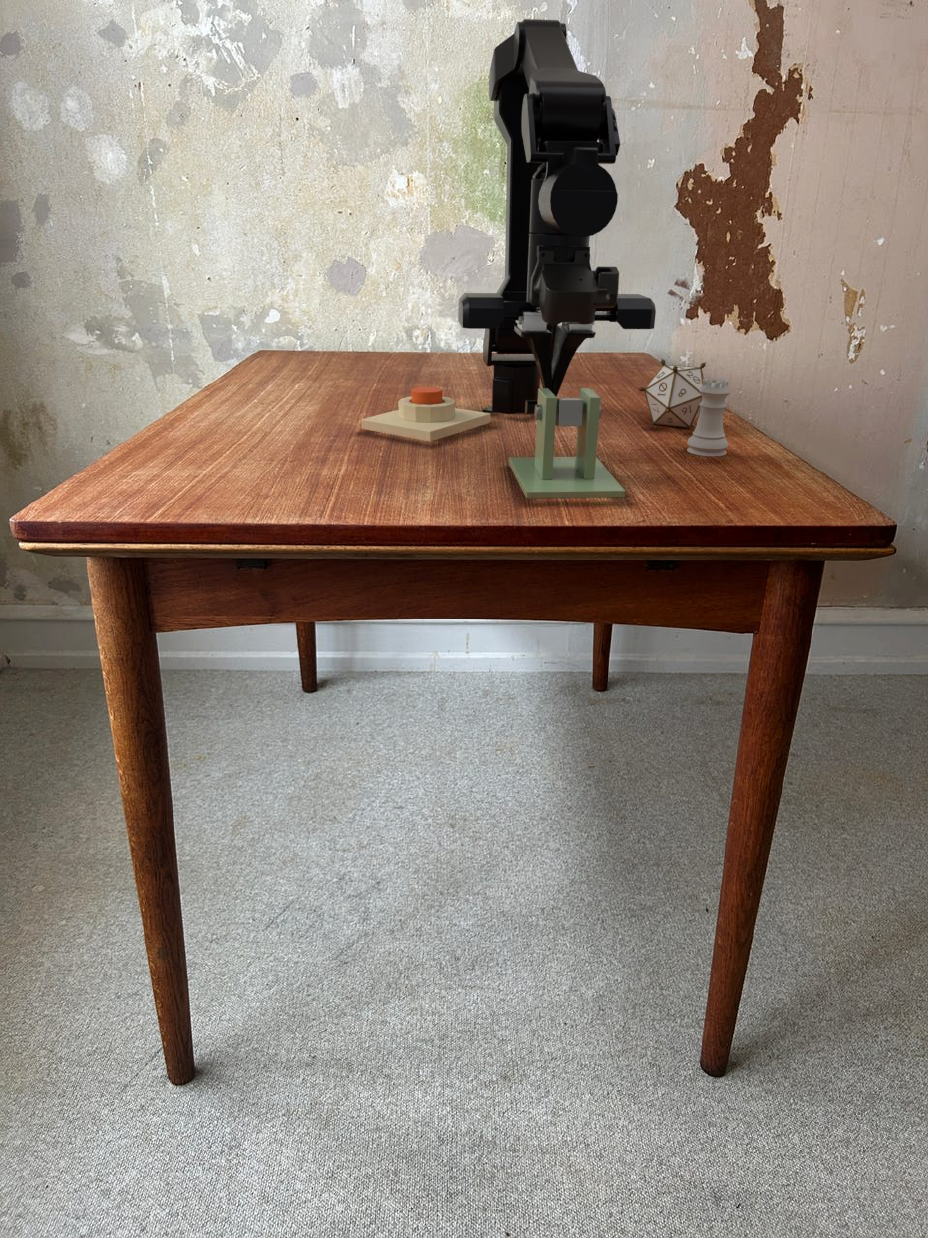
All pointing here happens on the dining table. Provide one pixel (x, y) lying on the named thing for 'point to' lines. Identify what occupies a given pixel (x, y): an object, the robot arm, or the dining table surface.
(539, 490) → the green lever stand
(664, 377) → the game die
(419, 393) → the button
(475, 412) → the button block
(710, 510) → the dining table surface
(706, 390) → the rook chess piece
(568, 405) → the lever
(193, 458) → the dining table surface
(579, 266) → the robot arm
